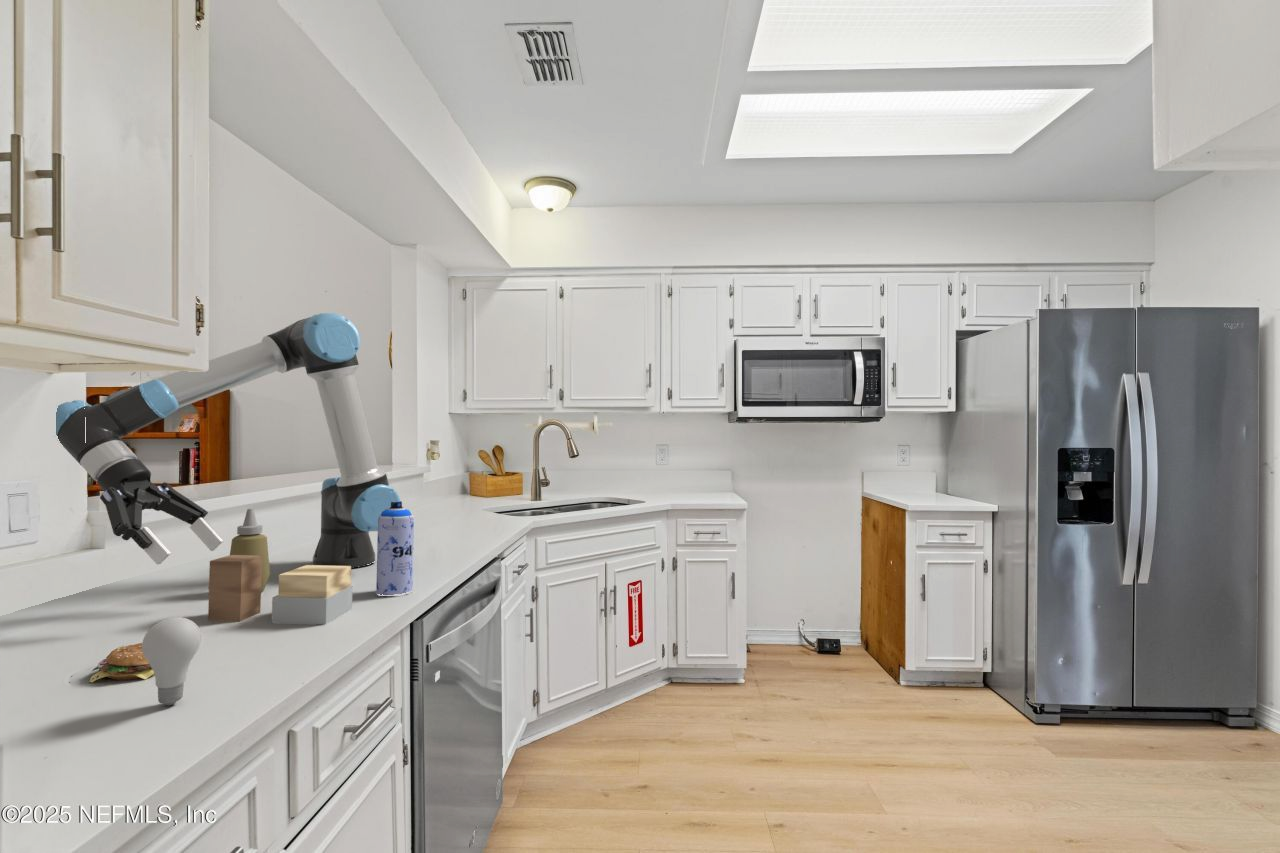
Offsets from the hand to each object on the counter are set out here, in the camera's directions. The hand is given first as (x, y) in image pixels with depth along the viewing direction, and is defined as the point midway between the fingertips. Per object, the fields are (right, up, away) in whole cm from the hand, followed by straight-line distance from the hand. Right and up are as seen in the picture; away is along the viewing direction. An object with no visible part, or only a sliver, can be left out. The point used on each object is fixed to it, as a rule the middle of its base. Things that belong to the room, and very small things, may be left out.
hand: (192, 552), depth 120 cm
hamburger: (+10, -12, -27) cm, 31 cm away
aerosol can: (+30, -13, +20) cm, 39 cm away
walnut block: (+8, -12, 0) cm, 14 cm away
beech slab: (+22, -8, +2) cm, 24 cm away
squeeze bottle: (-1, -13, +18) cm, 22 cm away
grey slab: (+22, -13, +1) cm, 26 cm away
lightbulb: (+24, -12, -39) cm, 47 cm away
